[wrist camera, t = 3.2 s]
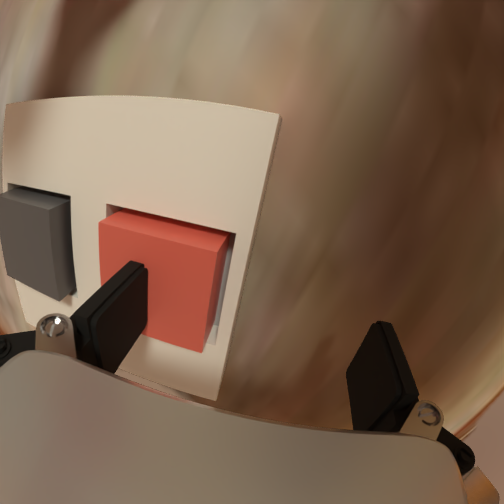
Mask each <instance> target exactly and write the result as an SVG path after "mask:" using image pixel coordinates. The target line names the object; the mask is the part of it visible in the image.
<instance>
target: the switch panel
mask: <svg viewBox="0 0 504 504" xmlns="http://www.w3.org/2000/svg"><path fill="white" fill-rule="evenodd" d="M281 122H282V118H281V116H280V114H276V113H271V112H266V111H261V110H256V109H251V108H245V107H239V106H233V105H227V104H220V103H213V102H205V101H197V100H188V99H177V98H164V97H148V96H77V97H61V98H50V99H40V100H32V101H24V102H17V103H11V104H6V111H5V121H4V133H3V155H2V179H3V193H4V192H7V191H9V190H12V189H15V188H17V187H20V186H27V187H32V188H36V189H41V190H46V191H51V192H56V193H60V194H65V195H70V196H71V229H72V246H73V259H74V269H75V278H76V286H77V287H76V288H75V289H74V290H72V291H71V292H70V293H69V294H68V295H67V296H66V297H64V298H63V299H62V300H61V301H60V302H59V301H57V300H55V299H53V298H51V297H49V296H47V295H44V294H42V293H40V292H38V291H36V290H35V289H33V288H31V287H29V286H27V285H25V284H23V283H21V282H19V281H17V280H16V279H15V282H16V286H17V290H18V294H19V298H20V302H21V306H22V309H23V313H24V316H25V319H26V322H28V323H29V324H31V325H33V326H34V327H36V326H37V323H38V321H39V320H40V319H41V318H42V317H44V316H46V315H48V314H53V313H60V314H64V315H66V316H67V317H70V316H71V315H72V314H73V313H74V312H75V311H76V310H77V309H78V308H79V307H80V306H81V305H82V304H83V303H84V302H85V301H86V300H87V299H89V298H90V297H91V296H92V295H93V294H94V293H95V292H96V291H97V290H98V289H99V288H100V287H101V279H100V264H99V235H98V222H100V221H101V220H103V219H105V218H107V217H109V216H110V215H112V214H114V213H116V212H118V211H120V210H122V209H123V208H129V209H133V210H138V211H142V212H147V213H151V214H155V215H160V216H164V217H169V218H173V219H177V220H182V221H186V222H190V223H194V224H199V225H203V226H207V227H211V228H216V229H220V230H224V231H228V232H231V234H230V239H229V245H228V250H227V255H226V261H225V266H224V272H223V277H222V283H221V289H220V294H219V300H218V306H217V311H216V317H215V322H214V324H213V327H212V329H211V332H210V334H209V337H208V339H207V342H206V344H205V347H204V349H203V352H202V353H199V352H195V351H192V350H189V349H185V348H182V347H179V346H176V345H172V344H169V343H166V342H163V341H160V340H157V339H154V338H151V337H148V336H145V335H143V334H141V335H140V336H139V338H138V339H137V340H136V342H135V343H134V345H133V346H132V348H131V349H130V351H129V352H128V354H127V355H126V357H125V358H124V360H123V361H122V363H121V364H120V366H119V367H118V368H119V369H121V370H124V371H126V372H129V373H131V374H134V375H136V376H139V377H142V378H144V379H147V380H150V381H153V382H155V383H158V384H161V385H164V386H167V387H170V388H173V389H176V390H179V391H182V392H186V393H189V394H192V395H196V396H199V397H202V398H206V399H210V400H213V401H216V400H217V396H218V393H219V389H220V386H221V383H222V379H223V376H224V372H225V369H226V365H227V361H228V356H229V352H230V347H231V343H232V338H233V334H234V330H235V325H236V321H237V316H238V312H239V308H240V303H241V299H242V294H243V290H244V285H245V281H246V277H247V272H248V268H249V263H250V259H251V255H252V250H253V246H254V241H255V237H256V232H257V228H258V224H259V219H260V215H261V210H262V206H263V202H264V197H265V193H266V188H267V184H268V179H269V175H270V171H271V166H272V162H273V157H274V153H275V149H276V144H277V140H278V135H279V131H280V126H281Z"/></svg>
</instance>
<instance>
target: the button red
mask: <svg viewBox="0 0 504 504" xmlns="http://www.w3.org/2000/svg"><path fill="white" fill-rule="evenodd" d="M230 234H231V232H228V231H224V230H220V229H216V228H211V227H207V226H203V225H199V224H194V223H190V222H186V221H182V220H177V219H173V218H169V217H164V216H160V215H155V214H151V213H147V212H142V211H138V210H133V209H129V208H123V209H122V210H120V211H118V212H116V213H114V214H112V215H110V216H109V217H107V218H105V219H103V220H101V221H100V222H98V235H99V264H100V279H101V286H102V285H103V284H105V283H106V282H107V281H108V280H109V279H110V278H111V277H112V276H113V275H114V274H116V273H117V272H118V271H119V270H120V269H121V268H122V267H123V266H124V265H126V264H127V263H128V262H129V261H131V260H132V261H136V262H139V263H143V264H144V268H147V269H148V290H147V325H146V327H145V329H144V330H143V332H142V333H141V334H143V335H145V336H148V337H151V338H154V339H157V340H160V341H163V342H166V343H169V344H172V345H176V346H179V347H182V348H185V349H189V350H192V351H195V352H199V353H202V352H203V349H204V347H205V344H206V342H207V339H208V337H209V334H210V332H211V329H212V327H213V324H214V322H215V317H216V311H217V306H218V300H219V294H220V289H221V283H222V277H223V272H224V266H225V261H226V255H227V250H228V245H229V239H230Z"/></svg>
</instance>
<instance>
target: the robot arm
mask: <svg viewBox="0 0 504 504" xmlns="http://www.w3.org/2000/svg"><path fill="white" fill-rule="evenodd" d="M147 290H148V269H147V268H144V264H143V263H139V262H136V261H132V260H131V261H129V262H128V263H127V264H126V265H124V266H123V267H122V268H121V269H120V270H119V271H118V272H117V273H116V274H114V275H113V276H112V277H111V278H110V279H109V280H108V281H107V282H106V283H105V284H103V285H102V286H101V287H100V288H99V289H98V290H97V291H96V292H95V293H94V294H93V295H92V296H91V297H90V298H89V299H87V300H86V301H85V302H84V303H83V304H82V305H81V306H80V307H79V308H78V309H77V310H76V311H75V312H74V313H73V314H72V315H71V316H70V317H67V316H66V315H64V314H60V313H53V314H48V315H46V316H44V317H42V318H41V319H40V320H39V321H38V323H37V326H36V330H34V331H27V332H20V333H13V334H6V335H0V504H499V493H498V491H497V490H496V488H495V487H494V486H493V485H492V483H491V482H490V481H489V479H488V478H487V477H486V476H485V474H484V473H483V472H482V470H481V469H480V468H479V467H478V466H477V467H474V464H475V456H474V453H473V451H472V450H471V448H470V447H469V446H467V445H466V444H465V443H463V442H462V441H461V440H459V439H458V438H457V437H455V436H454V435H453V434H451V433H450V432H449V431H447V430H446V429H445V428H443V427H442V425H443V422H444V416H443V413H442V411H441V409H440V408H439V407H438V406H437V405H436V404H435V403H433V402H431V401H428V400H421V401H419V400H418V395H419V392H418V389H417V387H416V384H415V381H414V378H413V376H412V373H411V370H410V368H409V365H408V362H407V360H406V357H405V355H404V352H403V350H402V347H401V345H400V342H399V340H398V338H397V335H396V333H395V331H394V328H393V326H392V324H391V323H389V322H384V321H377V322H376V323H373V324H372V325H371V327H370V329H369V331H368V333H367V335H366V336H365V338H364V340H363V342H362V344H361V346H360V347H359V349H358V351H357V353H356V355H355V356H354V358H353V360H352V362H351V363H350V365H349V367H348V369H347V372H346V379H347V385H348V392H349V399H350V407H351V414H352V423H353V430H345V429H333V428H323V427H314V426H306V425H299V424H292V423H286V422H280V421H274V420H268V419H263V418H258V417H253V416H248V415H244V414H239V413H235V412H230V411H226V410H222V409H218V408H214V407H211V406H207V405H203V404H200V403H196V402H193V401H189V400H186V399H183V398H179V397H176V396H173V395H170V394H167V393H164V392H161V391H158V390H155V389H152V388H149V387H147V386H144V385H141V384H139V383H136V382H133V381H131V380H128V379H125V378H123V377H120V376H118V375H115V374H114V373H115V372H116V370H117V369H118V367H119V366H120V364H121V363H122V361H123V360H124V358H125V357H126V355H127V354H128V352H129V351H130V349H131V348H132V346H133V345H134V343H135V342H136V340H137V339H138V338H139V336H140V335H141V333H142V332H143V330H144V329H145V327H146V325H147Z"/></svg>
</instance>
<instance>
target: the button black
mask: <svg viewBox="0 0 504 504" xmlns="http://www.w3.org/2000/svg"><path fill="white" fill-rule="evenodd" d="M0 237H1V244H2V250H3V255H4V261H5V266H6V270H7V275H8V276H10V277H12V278H14V279H16V280H17V281H19V282H21V283H23V284H25V285H27V286H29V287H31V288H33V289H35V290H36V291H38V292H40V293H42V294H44V295H47V296H49V297H51V298H53V299H55V300H57V301H59V302H60V301H61V300H62V299H63V298H64V297H66V296H67V295H68V294H69V293H70V292H71V291H72V290H74V289H75V288H76V287H77V286H76V278H75V269H74V259H73V246H72V229H71V196H70V195H65V194H60V193H56V192H51V191H46V190H41V189H36V188H32V187H27V186H20V187H17V188H15V189H12V190H9V191H7V192H4V193H1V194H0Z"/></svg>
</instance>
